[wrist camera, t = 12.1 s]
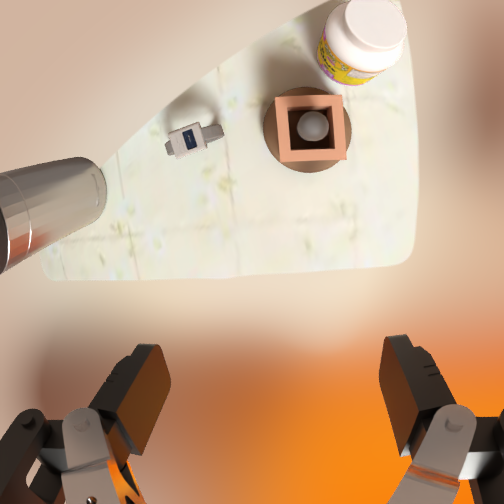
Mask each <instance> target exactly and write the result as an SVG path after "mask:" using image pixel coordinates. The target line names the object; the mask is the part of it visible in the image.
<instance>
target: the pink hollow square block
mask: <svg viewBox="0 0 504 504" xmlns="http://www.w3.org/2000/svg"><path fill="white" fill-rule="evenodd" d="M275 106H276V117H277V128H278V140H279V152H280V162H293V161H316V160H347V158H346V140H345V126H344V113H343V102H342V95H305V96H285V97H275ZM301 110H327V121H328V124H329V130H328V134H329V148H311V149H291V148H290V136H289V124H288V112H287V111H301Z"/></svg>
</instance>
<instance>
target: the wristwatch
mask: <svg viewBox="0 0 504 504" xmlns="http://www.w3.org/2000/svg"><path fill="white" fill-rule="evenodd" d="M223 136H224V132H223V129H222V126H221V125H212V126H207V127H203V128H201V126H200V123H199V122H196V123H193V124H191V125H188V126H185V127H183V128H180V129H178V130H175V131H173V132H170V133H169V138H170V141H168V142H166V144H165V147H166V150H167V153H168V155H174V154H175V156H176V158H177V159H179V158H182V157H184V156H187V155H190V154H192V153H195V152H198V151H201V150H204V149H206V148H207V143H210V142H212V141H215V140H217V139H220V138H222V137H223Z"/></svg>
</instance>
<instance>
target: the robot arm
mask: <svg viewBox="0 0 504 504" xmlns="http://www.w3.org/2000/svg"><path fill="white" fill-rule="evenodd" d="M106 196H107V192H106V184H105V180H104V177H103V175H102V173H101V171H100V170H99V168H98V167H97V166H96V165H95V164H94V163H93V162H92V161H90V160H89V159H86V158H83V157H74V158H68V159H63V160H57V161H52V162H47V163H42V164H37V165H33V166H28V167H24V168H19V169H15V170H11V171H7V172H3V173H0V274H2V273H4V272H5V271H7V270H8V269H10V268H12V267H13V266H15V265H17V264H18V263H20V262H21V261H23V260H25V259H26V258H28V257H30V256H32V255H33V254H35V253H37V252H39V251H40V250H42V249H44V248H46V247H47V246H49V245H51V244H53V243H55V242H57V241H58V240H60V239H62V238H64V237H66V236H68V235H70V234H71V233H73V232H75V231H77V230H79V229H81V228H83V227H85V226H87V225H89V224H91V223H93V222H94V221H95V220H97V219H98V218H99V216H100V215H101V214H102V212H103V210H104V207H105V203H106ZM379 382H380V387H381V391H382V394H383V397H384V400H385V404H386V407H387V411H388V414H389V418H390V421H391V425H392V428H393V432H394V436H395V439H396V443H397V447H398V451H399V455H400V457H402V456H407V455H411V458H412V463H411V465H410V467H409V468H408V470H407V472H406V474H405V475H404V477H403V479H402V480H401V482H400V484H399V486H398V487H397V489H396V491H395V492H394V494H393V495H392V497H391V498H390V500H389V501H388V503H387V504H452V503H453V501H454V499H455V497H456V494H457V492H458V489H459V486H460V482H458V479H468V480H469V483H470V487H471V491H472V495H473V499H474V503H475V504H504V409H503V411H502V412H501V414H500V416H499V417H475V415H474V414H473V412H472V411H471V410H470V409H468V408H467V407H464V406H462V405H458V404H457V403H456V401H455V399H454V397H453V396H452V394H451V392H450V390H449V388H448V386H447V384H446V382H445V380H444V378H443V376H442V375H441V374H440V371H439V369H438V367H437V366H436V363H435V361H434V360H433V358H432V356H431V354H429V353H428V352H427V351H426V350H424V349H423V348H422V347H420V346H419V347H413V345H412V343H411V341H410V340H409V338H408V336H407V335H406V334H403V335H396V336H388V337H385V339H384V344H383V351H382V357H381V363H380V369H379ZM170 387H171V378H170V374H169V371H168V368H167V365H166V362H165V359H164V356H163V352H162V349H161V347H160V346H159V345H157V344H138V345H137V346H136V348H135V349H134V351H133V353H132V354H131V356H126V357H125V358H123V359H122V360H121V361H119V362H118V363H117V364H116V366H115V367H114V369H113V370H112V372H111V374H110V375H109V376H108V377H107V379H106V382H104V383H103V385H102V386H101V388H100V390H99V391H98V392H97V394H96V396H95V397H94V399H93V400H92V402H91V403H90V405H89V407H88V408H79V409H76V410H74V411H72V412H70V413H69V414H68V415H67V416H66V417H65V419H64V420H47V419H46V418H45V416H44V415H43V413H42V412H41V411H40V410H38V409H28V410H25V411H23V412H21V413H20V414H19V415H18V416H17V417H16V418H15V420H14V421H13V423H12V424H11V425H10V427H9V429H8V430H7V431H6V433H5V434H4V436H3V437H2V439H1V440H0V504H64V503H65V501H66V504H147V503H146V502H145V500H144V497H143V495H142V493H141V491H140V488H139V486H138V484H137V481H136V479H135V476H134V474H133V471H132V469H131V466H130V463H129V462H128V460H127V459H128V457H129V454H130V453H131V454H135V455H142V454H143V452H144V449H145V447H146V445H147V442H148V440H149V437H150V435H151V433H152V430H153V428H154V426H155V423H156V421H157V419H158V416H159V414H160V412H161V409H162V407H163V405H164V402H165V400H166V398H167V395H168V393H169V391H170ZM36 458H37V459H38V460H39V461H40V462H41V463H42V464H41V466H40V468H39V469H38V472H37V474H36V475H35V477H34V479H33V481H32V483H31V485H30V487H29V488H28V486H27V484H26V476H27V474H28V472H29V470H30V468H31V467H32V465H33V463H34V461H35V460H36Z"/></svg>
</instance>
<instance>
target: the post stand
mask: <svg viewBox="0 0 504 504" xmlns="http://www.w3.org/2000/svg"><path fill="white" fill-rule="evenodd" d="M305 95H331V94H329V93H327V92H325V91H323V90H320V89H317V88H311V87H301V88H295V89H292V90H289V91H287V92H285V93H283V94H281V95H280V96H279V97H285V96H305ZM287 112H288V124H289V136H290V148H291V149H311V148H329V134H328V130H329V124H328V121H327V110H301V111H287ZM343 113H344V126H345V140H346V151H347V149H348V147H349V144H350V140H351V123H350V119H349V116H348V114H347V112H346V110H345V108H344V107H343ZM263 132H264V138H265V142H266V144H267V147H268V149H269V150H270V152H271V153H272V155H273V156H274V157H275V158H276V159H277V160H278V161H279V162H280V152H279V140H278V128H277V117H276V106H275V100H274V101H273V103H272V104H271V105H270V107H269V109H268V110H267V113H266V115H265V119H264V125H263ZM338 161H339V160H316V161H293V162H280V163H281V164H283V165H284V166H286V167H288V168H290V169H292V170H295V171H298V172H304V173H313V172H319V171H323V170H326V169H328V168H330V167H332V166H333V165H335V164H336V163H337V162H338Z"/></svg>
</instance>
